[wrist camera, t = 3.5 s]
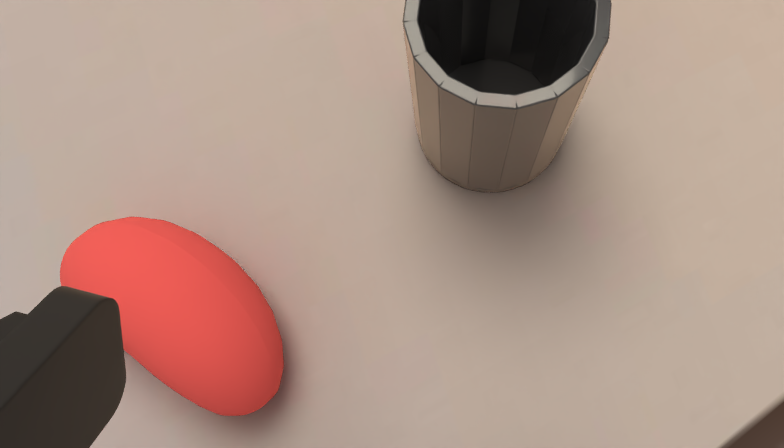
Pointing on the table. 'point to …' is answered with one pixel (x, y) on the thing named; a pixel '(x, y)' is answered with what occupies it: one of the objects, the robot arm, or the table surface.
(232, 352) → the stress ball
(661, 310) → the table surface
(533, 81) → the open gray tube
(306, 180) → the table surface
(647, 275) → the table surface
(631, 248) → the table surface
